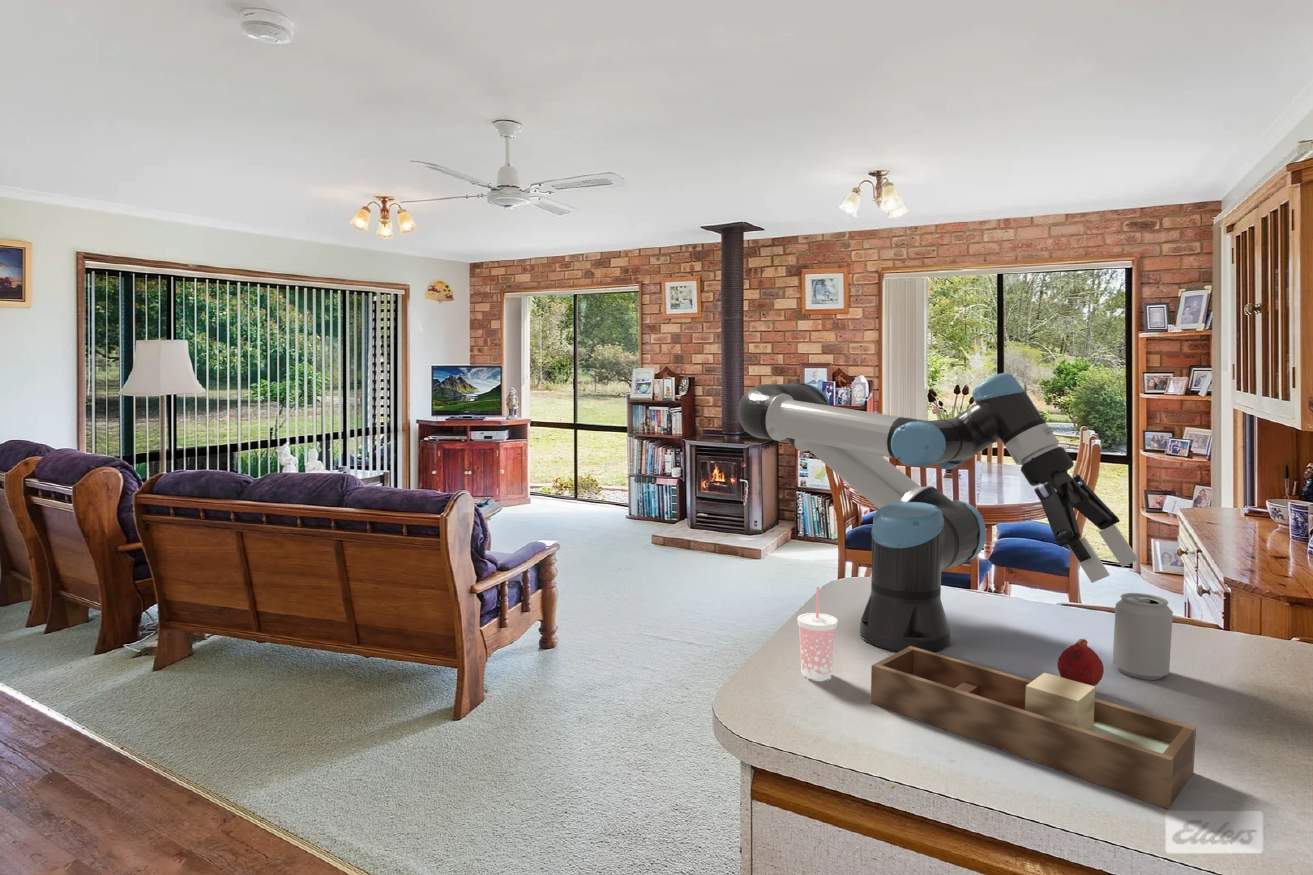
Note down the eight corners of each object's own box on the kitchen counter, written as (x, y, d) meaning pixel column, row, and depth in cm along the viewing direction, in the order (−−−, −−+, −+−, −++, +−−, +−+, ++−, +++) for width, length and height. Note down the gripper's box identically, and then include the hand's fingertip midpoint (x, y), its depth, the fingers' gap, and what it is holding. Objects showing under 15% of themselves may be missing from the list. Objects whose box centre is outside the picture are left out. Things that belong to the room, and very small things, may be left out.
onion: (1085, 703, 107) (1088, 648, 106) (1048, 688, 112) (1050, 636, 111) (1110, 695, 109) (1113, 641, 109) (1072, 680, 114) (1075, 629, 114)
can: (1178, 683, 113) (1182, 606, 112) (1123, 679, 115) (1127, 603, 114) (1156, 664, 121) (1160, 591, 120) (1104, 661, 122) (1108, 589, 121)
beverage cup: (837, 685, 113) (838, 594, 112) (795, 681, 115) (796, 591, 113) (836, 669, 119) (838, 582, 118) (797, 666, 120) (798, 580, 119)
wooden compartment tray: (870, 702, 107) (871, 665, 107) (909, 680, 115) (910, 645, 114) (1168, 809, 81) (1171, 760, 80) (1193, 772, 88) (1196, 727, 88)
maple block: (1024, 724, 94) (1025, 685, 94) (1042, 709, 98) (1044, 672, 98) (1076, 741, 90) (1078, 700, 89) (1093, 725, 94) (1095, 686, 93)
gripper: (1027, 450, 116) (1111, 576, 109) (1087, 439, 133) (1163, 548, 125) (987, 474, 121) (1064, 596, 114) (1050, 461, 138) (1120, 566, 130)
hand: (1116, 571), depth 119 cm, fingers open, 13 cm apart
